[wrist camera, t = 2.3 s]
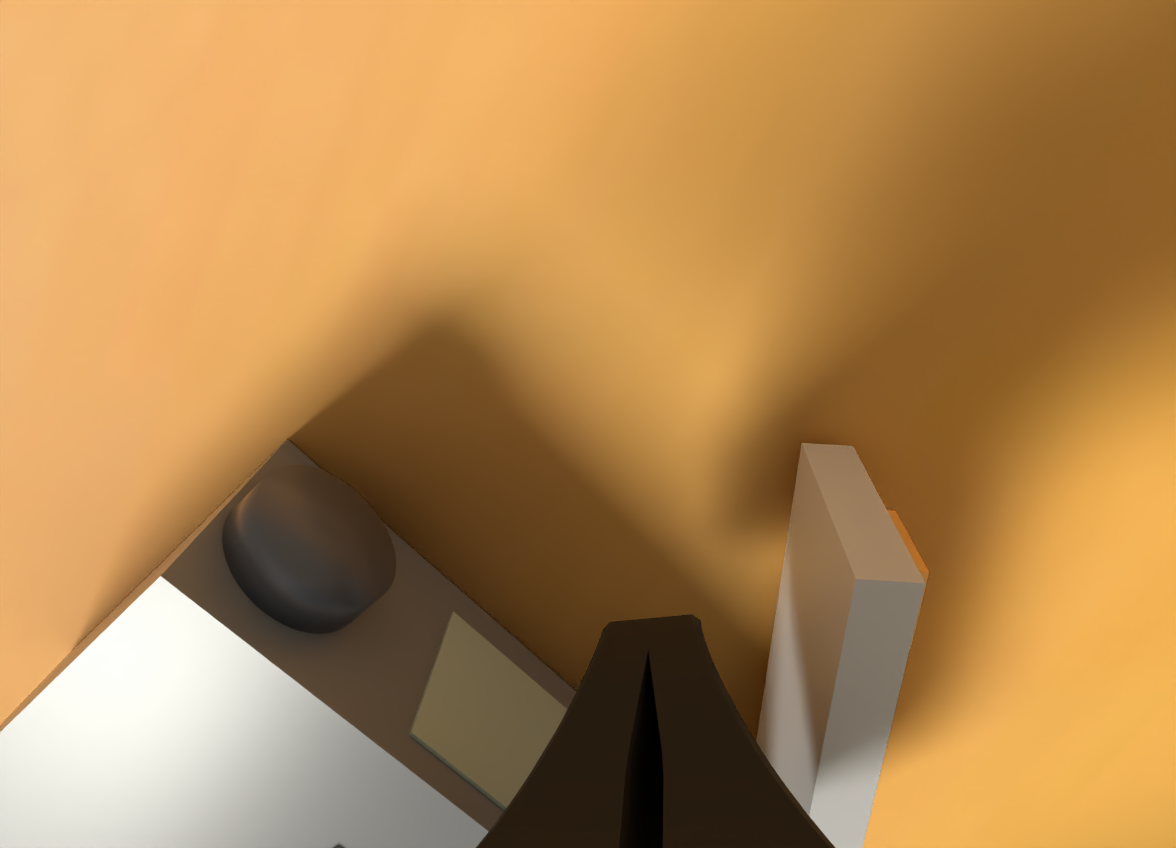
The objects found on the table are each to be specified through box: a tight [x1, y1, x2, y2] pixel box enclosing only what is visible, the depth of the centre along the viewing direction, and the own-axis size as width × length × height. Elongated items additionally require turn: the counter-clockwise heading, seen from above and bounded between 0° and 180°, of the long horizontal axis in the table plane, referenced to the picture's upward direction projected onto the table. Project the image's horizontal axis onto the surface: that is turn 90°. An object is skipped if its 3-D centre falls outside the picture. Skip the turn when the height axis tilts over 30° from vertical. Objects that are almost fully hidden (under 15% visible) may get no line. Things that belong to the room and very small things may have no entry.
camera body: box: [0, 439, 577, 848], centre depth 15 cm, size 12×8×4 cm, turn 43°
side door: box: [756, 443, 929, 848], centre depth 13 cm, size 9×1×4 cm, turn 178°
